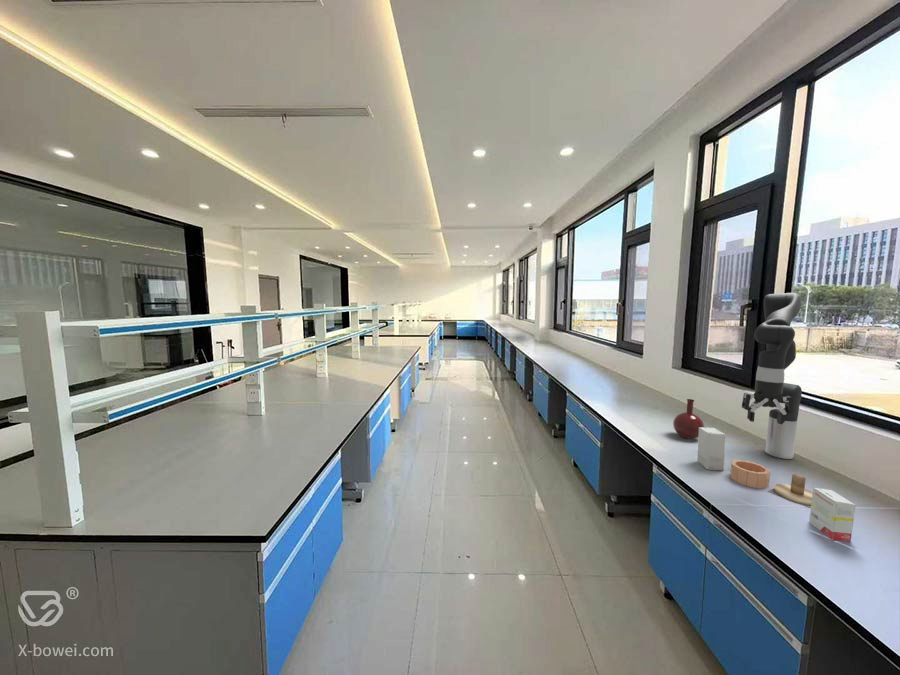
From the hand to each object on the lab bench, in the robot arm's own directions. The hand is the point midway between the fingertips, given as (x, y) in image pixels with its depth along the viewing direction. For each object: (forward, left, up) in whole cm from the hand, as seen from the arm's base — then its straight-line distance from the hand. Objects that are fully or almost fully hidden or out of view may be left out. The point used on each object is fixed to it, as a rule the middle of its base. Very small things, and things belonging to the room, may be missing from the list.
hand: (765, 422), depth 128 cm
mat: (-3, +10, -25) cm, 27 cm away
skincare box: (-1, -17, -25) cm, 30 cm away
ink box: (+14, +23, -25) cm, 37 cm away
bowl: (0, -3, -25) cm, 25 cm away
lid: (-3, +10, -24) cm, 26 cm away
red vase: (-25, -39, -25) cm, 53 cm away
